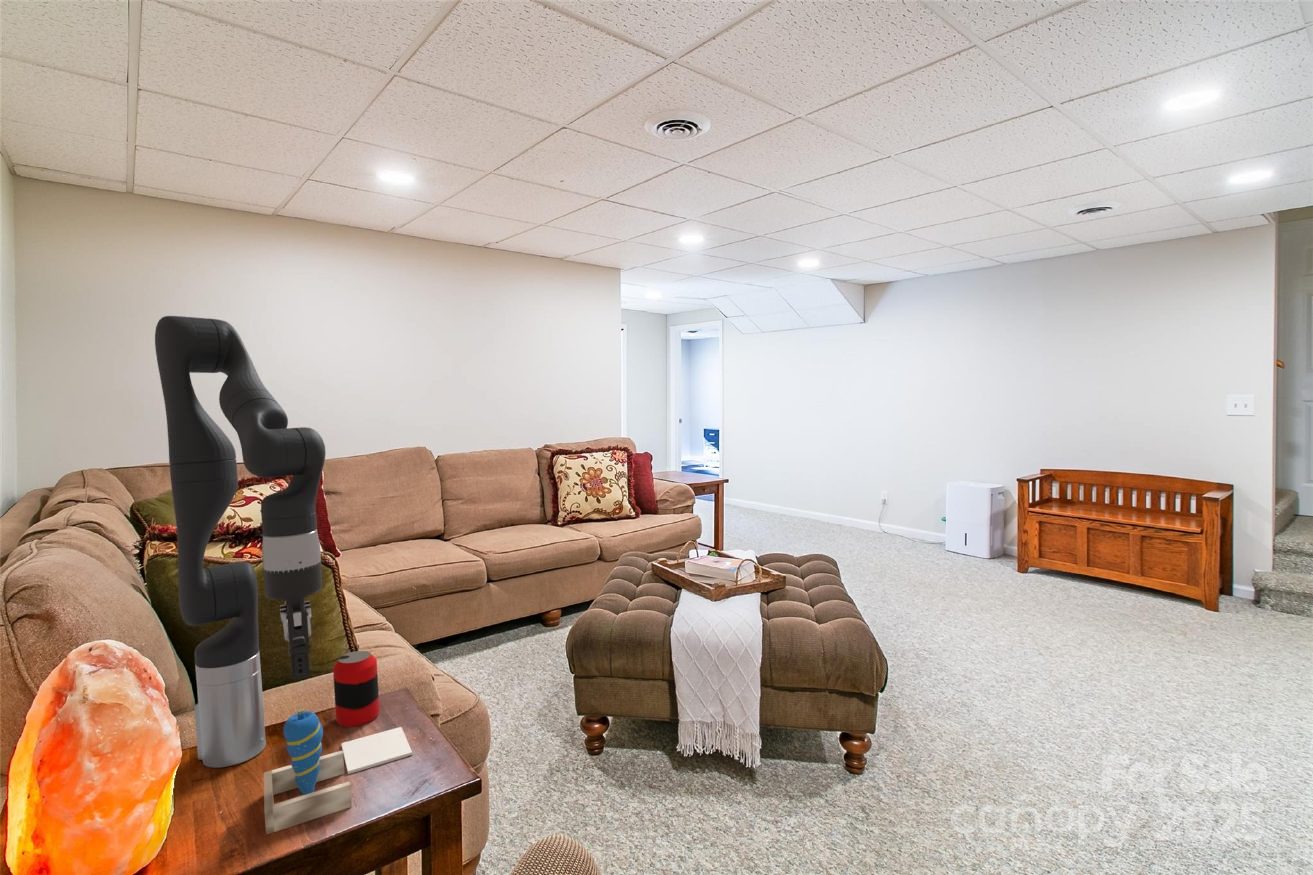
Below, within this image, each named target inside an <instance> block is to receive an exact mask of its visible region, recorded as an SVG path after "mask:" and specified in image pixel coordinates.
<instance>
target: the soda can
mask: <svg viewBox="0 0 1313 875" xmlns="http://www.w3.org/2000/svg"><path fill="white" fill-rule="evenodd" d="M377 661H378V660H377V657H375V656H374V655H373V654H372V653H371V652H370V651H368V650H356V651H351V652H347V653H345V654H343V655H341V656H340V657H338V659H337V661H336V662H335V664H334V665H333V667H332V672H333V674H332V675H333V690H334V691H333V692H334V704H335V721H336V723H337V724H338V725H339V726H341V727H346V728H352V727H359V726H362V725H363V726H364V725H366V724H368V723H370V722H372V721H373V720H375V719H376V718H377V717H378V715H379V714H380V696H379V692H380V691H379V675H378V662H377Z"/></svg>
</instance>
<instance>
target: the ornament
mask: <svg viewBox="0 0 1313 875" xmlns="http://www.w3.org/2000/svg"><path fill="white" fill-rule="evenodd" d="M299 707H301V708H298V710H297V712H296V713H294V714H292V715H291V716H290V717H288V719H287V720H286V722H285V723H284V725H283V731H282V732H283V736H284V739H285V740H286V741H287V742H286V751H287V753H288V754H289V756H290V757H291V761H290V765H292V768H293V770H294V772H295V774H296V775H295V781H296V784H297V786H298V788H297V789H299V791H300V792H301V795H302V796H303V795H306V794H310V793H313V792H315V787H316V783H317V782H316V780H317V777H318V773H319V769H320V761H319V758H320V757H321V756H322V752H323V745H322V739H323V736H324V729H323V725H322V724H321V721H320V719H319V717H318V715H317V714H316V713H315V712H313V711H309V710H307V711H306V710H305V708H304V706H302V705H299Z"/></svg>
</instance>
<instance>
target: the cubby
mask: <svg viewBox="0 0 1313 875" xmlns="http://www.w3.org/2000/svg"><path fill="white" fill-rule="evenodd" d="M319 761H320V769H319V773H318V777H317V780H316V783H318V782H321V781H325V780H328V779H331V778H335V777H338V776H340V775H341V776H342V775H344V774H345V764H344V763H345V759H344V754H343V750H340V751H335V752H332V753H329V754H328V753H327V754H325V755H320V758H319ZM295 775H296V774H295V772H294V770H293V768H292V765H291V764H290V765H285V766H282V767H279V768H276V769H272V770H269V771H268V770H267V771H264V772H263V783H264V787H263V789H264V790H263V791H264V792H263V794H264V796H263V797H264V799H263V800H264V802H263V803H264V804H263V805H264V808H263V809H264V822H265V835H270V834H272V833H276V832H279V831H281V830H282V831H283V830H286V829H289V828H291V827H294V826H298V825H300V824H304V823H306V822H310V821H312V820H315V819H319V818H321V817H324V816H329V815H332V814H334V813H336V812H340V811H344V810H346V809H349V808H350V809H351V808H352V792H351V781H346V782H343V783H340V784H336V785H334V786H333V785H332V786H330V787H326V788H323V789H319V790H317V791H313V793H310V794H306V795H303V794H302V795H299V796H297V797H293V798H290V799H287V800H284V801H281V802H277V803H275V802H274V796H275V795H277V794H282V793H284V792H289V791H291V790H294V789H295V790H296V789H299V788H298V786H297V784H296V781H295Z"/></svg>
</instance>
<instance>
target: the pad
mask: <svg viewBox="0 0 1313 875" xmlns="http://www.w3.org/2000/svg"><path fill="white" fill-rule="evenodd" d="M341 749H342V750H341V751H343V759H344V763H345V766H346V771H347V775H350V774H354V773H356V772H360V771H363V770H366V769H367V770H368V769H370V768H373V767H377V766H380V765H384V764H386V763H390V762H393V761H396V760H400V759H403V758H407V757H410V756H413V751H412V748H411V746H410V744H409V741H408V739H407V736H406V734H405V732H404V729H403V727H402V726H399V727H395V728H391V729H389V730H385V731H380V732H378V733H374V734H370V735H366V736H363V737H360V738H356V739H352V740H348V741H345V742H341Z"/></svg>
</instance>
